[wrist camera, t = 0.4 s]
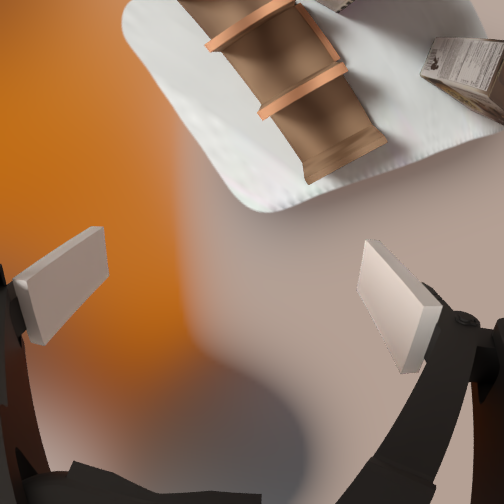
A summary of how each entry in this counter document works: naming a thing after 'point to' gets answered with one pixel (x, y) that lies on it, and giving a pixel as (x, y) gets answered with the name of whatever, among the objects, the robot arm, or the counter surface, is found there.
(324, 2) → the candy bar box
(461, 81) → the coffee box
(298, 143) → the rack
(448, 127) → the counter surface
